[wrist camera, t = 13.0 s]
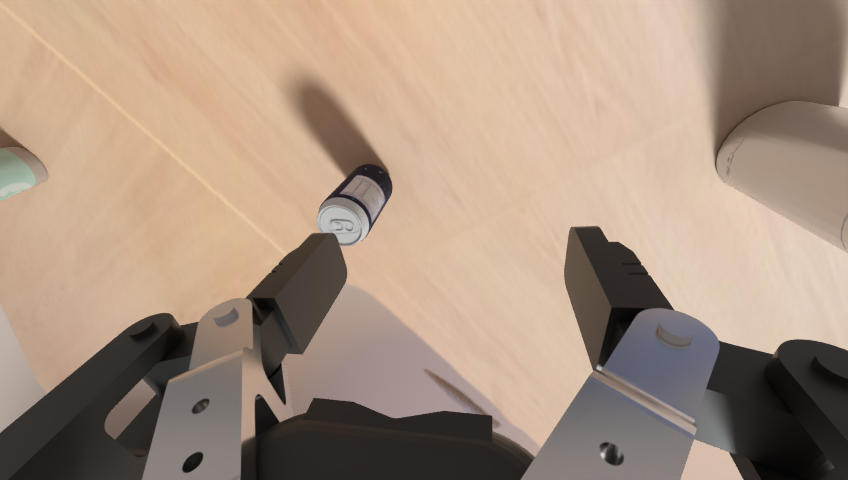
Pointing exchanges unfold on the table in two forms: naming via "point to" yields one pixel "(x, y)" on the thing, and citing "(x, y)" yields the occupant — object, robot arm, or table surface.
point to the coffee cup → (19, 171)
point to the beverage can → (355, 204)
